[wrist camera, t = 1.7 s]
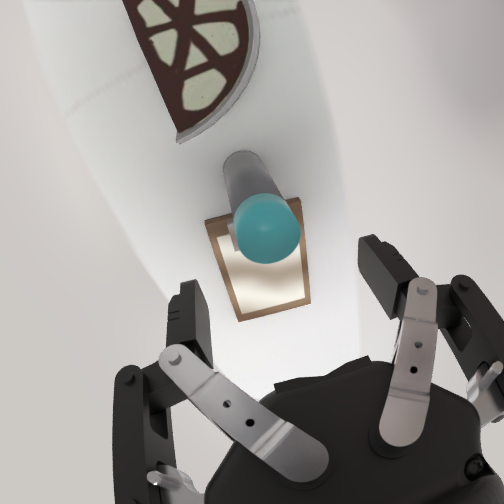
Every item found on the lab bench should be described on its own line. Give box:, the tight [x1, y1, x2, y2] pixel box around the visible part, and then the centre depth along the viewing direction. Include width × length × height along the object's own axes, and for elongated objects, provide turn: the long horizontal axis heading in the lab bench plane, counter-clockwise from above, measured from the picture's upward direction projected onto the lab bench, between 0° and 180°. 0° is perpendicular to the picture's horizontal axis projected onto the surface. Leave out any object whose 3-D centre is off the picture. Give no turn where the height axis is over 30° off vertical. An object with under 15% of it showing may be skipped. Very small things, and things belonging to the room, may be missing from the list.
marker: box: [223, 151, 301, 264], centre depth 20 cm, size 4×4×11 cm
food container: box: [122, 0, 260, 144], centre depth 14 cm, size 12×6×10 cm, turn 18°
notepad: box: [205, 198, 311, 322], centre depth 31 cm, size 14×9×2 cm, turn 11°
